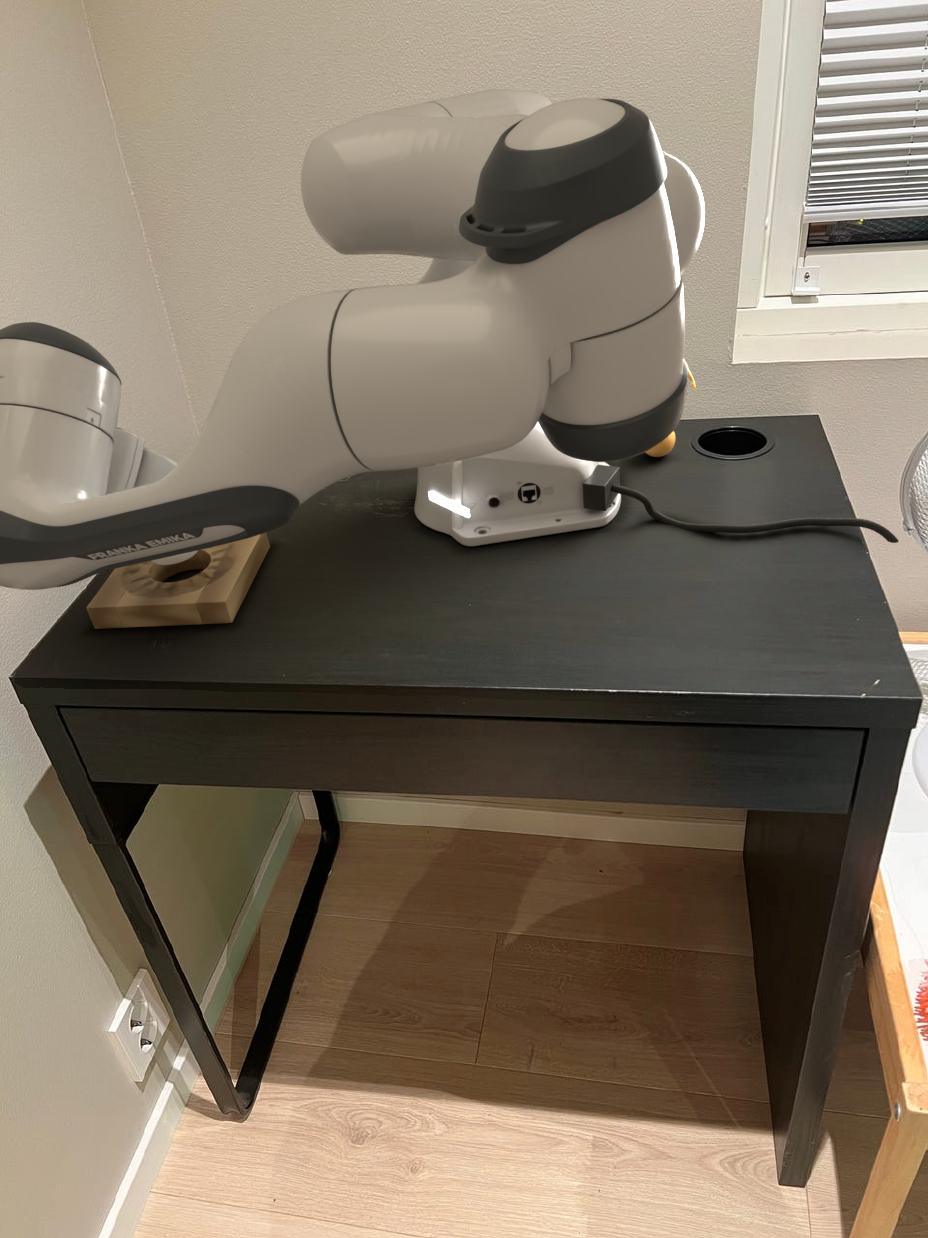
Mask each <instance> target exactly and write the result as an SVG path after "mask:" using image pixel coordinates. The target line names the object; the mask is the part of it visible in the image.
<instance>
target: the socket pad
mask: <svg viewBox="0 0 928 1238" xmlns="http://www.w3.org/2000/svg"><path fill="white" fill-rule="evenodd" d="M270 548H271V544H270V541H269V537H268V532H266V533H263V534H260V535H257V536H253V537H250V538H247V539H243V540H239V541H235V542H231V543H227V544H223V545H219V546H215V547H210V548H206V549H202V550H198V552H197V553H196V554H195V555H194V556H192V557H191V558H189V559H187V560H185V561H183V562H180V563H177V564H172V565H158V564H155V563H153V562H152V561H147V562H143V563H138V564H134V565H129V566H124V567H120V568H116V569H113V571H112V572H111V573H110V575H109V576H108V577H107V579H106V580H105V581H104V583H103V584H102V585H101V586H100V589H99V590H98V591H97V593H96V594H95V595H94V596H93V598H92V599H91V601H90V602H89V603H88V605H86V608H85V610H86V612H87V615H88V616H89V618H90V621H91V623H92V625H93V628H94V629H95V630H99V629H100V630H101V629H122V628H124V629H125V628H146V627H149V628H150V627H165V626H166V627H168V626H171V627H172V626H192V625H193V626H194V625H213V624H214V625H217V624H232V623H233V622H234V619H235V618H236V615H237V614H238V611H239V610H240V608H241V606H242V604H243V602H244V600H245V598H246V596H247V595H248V593H249V590H250V589H251V586H252V584H253V583H254V580H255V578H256V576H257V574H258V572H259V570H260V568H261V565H262V564H263V562H264V560H265V558H266V556H267V554H268V552H269V550H270ZM190 570H202V571H200V572H199V573H197V574H195V575H192V576H191V577H189V578H186V579H182V580H177V581H171V582H170V581H169V582H165V581H166V580H167V579H168V578H170V577H173V576H175V575H177V574H179V573H182V572H186V571H190Z"/></svg>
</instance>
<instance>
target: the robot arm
mask: <svg viewBox="0 0 928 1238" xmlns="http://www.w3.org/2000/svg"><path fill="white" fill-rule="evenodd" d="M300 193H301V198H302V203H303V208H304V210H305V213H306V215H307V218H308V220H309V222H310V223H311V225H312V227H313V228H314V230H315V231H316V233H317V234H318V236H319V237H320V238H321V239H322V240H323V241H324V243H326V244H327V245H328V246H329V247H330V248H332V249H333V250H335V251H336V252H337V253H339V254H341V255H345V256H349V255H350V256H352V255H353V256H356V255H357V256H358V255H360V256H361V255H399V256H400V255H401V256H410V257H422V258H428V259H432V261H431V262H430V265H429V267H428V269H427V271H426V272H425V273H424V274H423V276H422V277H421V278H420V279H419V280H418V281H417V282H416V283H403V284H386V285H385V284H384V285H376V286H365V287H356V288H348V289H340V290H331V291H325V292H324V291H323V292H318V293H313V294H309V295H305V296H302V297H298V298H295V299H293V300H290V301H288V302H286V303H284V304H281V305H279V306H277V307H275V308H273V309H271V310H270V311H268V312H267V313H265V314H264V315H263V316H262V317H261V318H260V319H259V320H257V321H256V322H255V323H254V325H253V326H252V327H251V328H250V329H249V331H247V333H246V334H245V336H244V337H243V338H242V340H241V342H240V343H239V345H238V346H237V348H236V350H235V351H234V353H233V355H232V356H231V359H230V360H229V363H228V365H227V368H226V370H225V374H224V376H223V378H222V382H221V384H220V386H219V389H218V391H217V393H216V396H215V398H214V401H213V403H212V406H211V408H210V410H209V412H208V414H207V416H206V418H205V420H204V422H203V424H202V426H201V428H200V430H199V432H198V434H197V436H196V437H195V439H194V441H193V442H192V443H191V446H190V447H189V449H188V450H187V452H186V453H185V454H184V456H183V457H182V459H181V460H180V461H179V463H178V462H177V461H175V460H174V459H172V458H170V457H168V456H166V455H165V454H162V453H160V452H158V451H155V450H153V449H150V448H148V447H145V442H146V440H145V438H144V437H142V436H141V435H139V434H136V433H134V432H132V431H129V430H126V429H123V428H120V427H118V420H119V413H120V405H121V393H122V391H121V386H122V380H121V378H120V376H119V374H118V372H117V371H116V369H115V368H114V366H113V365H112V364H111V363H110V361H109V360H108V359H107V358H106V357H105V356H104V355H103V354H102V353H101V352H100V351H99V350H98V349H96V348H95V347H94V346H93V345H92V344H90V343H88V342H87V341H85V340H84V339H82V338H80V337H79V336H77V335H75V334H73V333H71V332H68V331H67V330H63V329H61V328H59V327H56V326H53V325H50V324H46V323H43V322H42V323H41V322H35V321H26V322H25V321H24V322H17V323H13V324H10V325H7V326H5V327H2V328H1V329H0V587H3V588H8V589H13V590H20V591H21V590H22V591H38V590H48V589H53V588H61V587H66V586H70V585H74V584H77V583H79V582H81V581H84V580H86V579H88V578H90V577H93V576H95V575H98V574H100V573H105V572H108V571H110V570H111V571H112V570H114V569H116V568H120V567H124V566H129V565H134V564H138V563H143V562H147V561H152V560H156V559H161V558H166V557H170V556H175V555H179V554H184V553H188V552H193V551H197V550H202V549H206V548H210V547H215V546H219V545H223V544H227V543H231V542H235V541H239V540H243V539H247V538H250V537H253V536H257V535H260V534H263V533H269V532H271V531H274V530H277V529H279V528H281V527H283V526H285V525H287V524H288V522H290V519H291V518H292V517H293V516H294V515H295V513H296V512H297V511H298V510H299V508H300V506H301V505H302V504H304V503H305V502H306V501H307V500H309V499H310V498H311V497H313V496H315V495H316V494H318V493H319V492H321V491H323V490H324V489H326V488H327V487H330V486H331V485H334V484H335V483H337V482H340V481H343V480H345V479H347V478H350V477H353V476H356V475H360V474H366V473H374V472H388V471H389V472H391V471H401V470H403V471H404V470H410V469H417V482H416V493H415V499H414V500H415V501H414V507H413V511H414V515H415V517H416V519H418V521H419V522H420V523H422V524H423V525H424V526H425V527H428V528H429V529H432V530H435V531H437V532H440V533H443V534H447V535H449V536H451V537H452V538H453V539H454V540H455V541H456V542H458V543H459V544H461V545H462V546H465V547H477V546H483V545H489V544H496V543H497V544H498V543H503V542H511V541H515V540H516V541H517V540H522V539H523V540H524V539H528V538H529V539H530V538H535V537H536V538H537V537H542V536H549V535H557V534H562V533H567V532H568V533H569V532H574V531H580V530H581V531H582V530H587V529H594V528H601V527H604V526H607V525H608V524H610V522H611V521H612V520H613V519H614V518H615V517H616V516H617V514H618V512H619V510H620V507H621V503H622V495H623V496H627V497H630V498H633V499H635V500H637V501H639V502H640V503H642V504H643V506H644V509H645V511H646V512H647V514H648V515H649V516H650V517H651V518H653V519H655V520H656V521H658V522H660V523H664V524H667V525H672V526H676V527H679V528H683V529H686V530H689V531H695V532H702V533H721V534H722V533H723V534H724V533H725V534H752V533H753V534H754V533H762V532H770V531H775V530H781V529H787V528H794V527H807V526H809V527H810V526H812V527H813V526H815V527H816V526H817V527H818V526H819V527H856V528H857V527H858V528H862V529H863V528H864V529H868V530H870V531H873V532H875V533H877V534H879V535H880V536H881V537H883V538H884V539H885V540H886V541H887V542H889V543H891V544H897V543H899V539H898V538H897V537H896V535H895V534H894V533H892V532H891V530H889V529H888V528H886V527H885V526H883V525H881V524H880V523H877V522H875V521H872V520H869V519H865V518H856V517H798V518H789V519H784V520H783V519H782V520H777V521H771V522H765V523H755V524H718V523H717V524H713V523H711V524H710V523H693V522H687V521H686V522H685V521H680V520H676V519H674V518H673V517H672V518H671V517H669V516H667V515H665V514H663V513H661V512H660V511H658V510H656V509H655V508H654V506H653V503H652V500H651V499H650V498H649V497H648V496H647V495H646V494H643V492H641V491H639V490H636V489H633V488H630V487H626V486H622V485H621V483H620V482H621V481H620V477H621V475H620V466H615V465H614V466H612V465H610V464H608V463H612V462H613V463H614V462H619V461H625V460H628V459H631V458H634V457H637V456H640V455H642V454H644V453H645V452H646V451H648V450H649V449H651V448H653V447H654V446H656V445H657V444H659V443H660V442H662V441H663V440H664V439H666V438H667V437H668V436H669V435H670V434H671V433H672V432H673V431H674V432H675V429H676V428H677V427H678V425H679V423H680V421H681V418H682V415H683V411H684V409H685V403H686V399H687V391H688V382H689V378H688V368H689V367H688V368H687V365H688V364H687V365H686V363H687V362H686V360H685V342H686V341H685V340H686V311H685V310H686V309H685V308H686V307H685V293H684V291H685V290H684V279H683V276H682V275H683V274H684V272H685V271H686V270H687V269H688V267H689V266H690V264H691V263H692V261H693V260H694V258H695V256H696V254H697V252H698V249H699V247H700V245H701V241H702V238H703V233H704V228H705V221H706V220H705V216H706V211H705V201H704V196H703V192H702V189H701V186H700V184H699V182H698V179H697V178H696V176H695V175H694V173H693V172H692V171H691V169H690V168H689V167H688V166H687V165H686V164H685V163H684V162H683V161H681V160H680V159H679V158H677V157H675V156H674V155H672V154H670V153H669V152H666V151H665V150H663V149H662V147H661V144H660V140H659V138H658V136H657V132H656V130H655V127H654V126H653V123H652V121H651V120H650V117H649V116H648V114H646V112H645V111H643V110H642V109H639V108H638V107H636V106H634V105H633V104H630V103H628V102H626V101H624V100H621V99H616V98H591V97H590V98H589V97H578V98H571V99H564V100H560V101H556V102H553V103H552V102H551V101H550V100H549V99H548V97H546V96H545V95H543V94H542V93H540V92H537V91H531V90H523V89H522V90H521V89H510V88H508V89H506V88H504V89H503V88H487V89H483V90H478V91H473V92H468V93H463V94H458V95H453V96H448V97H443V98H439V99H433V100H428V101H425V102H421V103H416V104H412V105H407V106H402V107H401V106H400V107H396V108H391V109H387V110H382V111H376V112H372V113H367V114H363V115H361V116H358V117H356V118H353V119H351V120H348V121H346V122H344V123H342V124H339V125H338V126H335V127H333V128H332V129H329V130H328V131H325V132H323V133H321V134H319V135H317V136H316V137H314V138H313V139H312V140H311V141H310V144H309V145H308V148H307V150H306V152H305V154H304V158H303V161H302V166H301V173H300Z"/></svg>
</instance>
